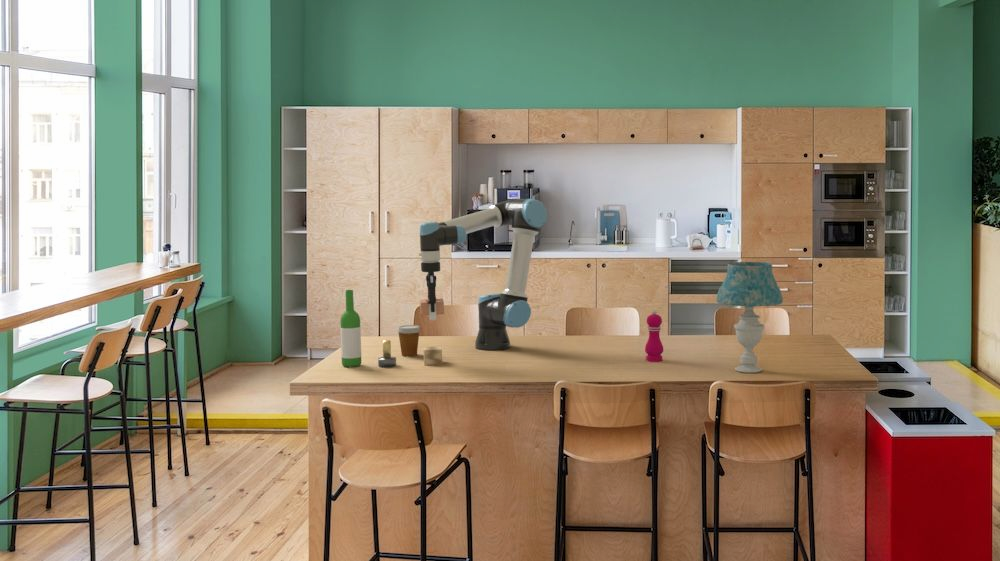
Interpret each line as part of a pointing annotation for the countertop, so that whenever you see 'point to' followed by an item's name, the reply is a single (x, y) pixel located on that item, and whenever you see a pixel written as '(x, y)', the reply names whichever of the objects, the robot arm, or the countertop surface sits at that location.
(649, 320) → the pepper mill
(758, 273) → the table lamp
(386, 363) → the light bulb
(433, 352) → the stand
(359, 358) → the wine bottle
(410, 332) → the disposable coffee cup
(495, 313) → the robot arm
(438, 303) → the square frame block
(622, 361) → the countertop surface
